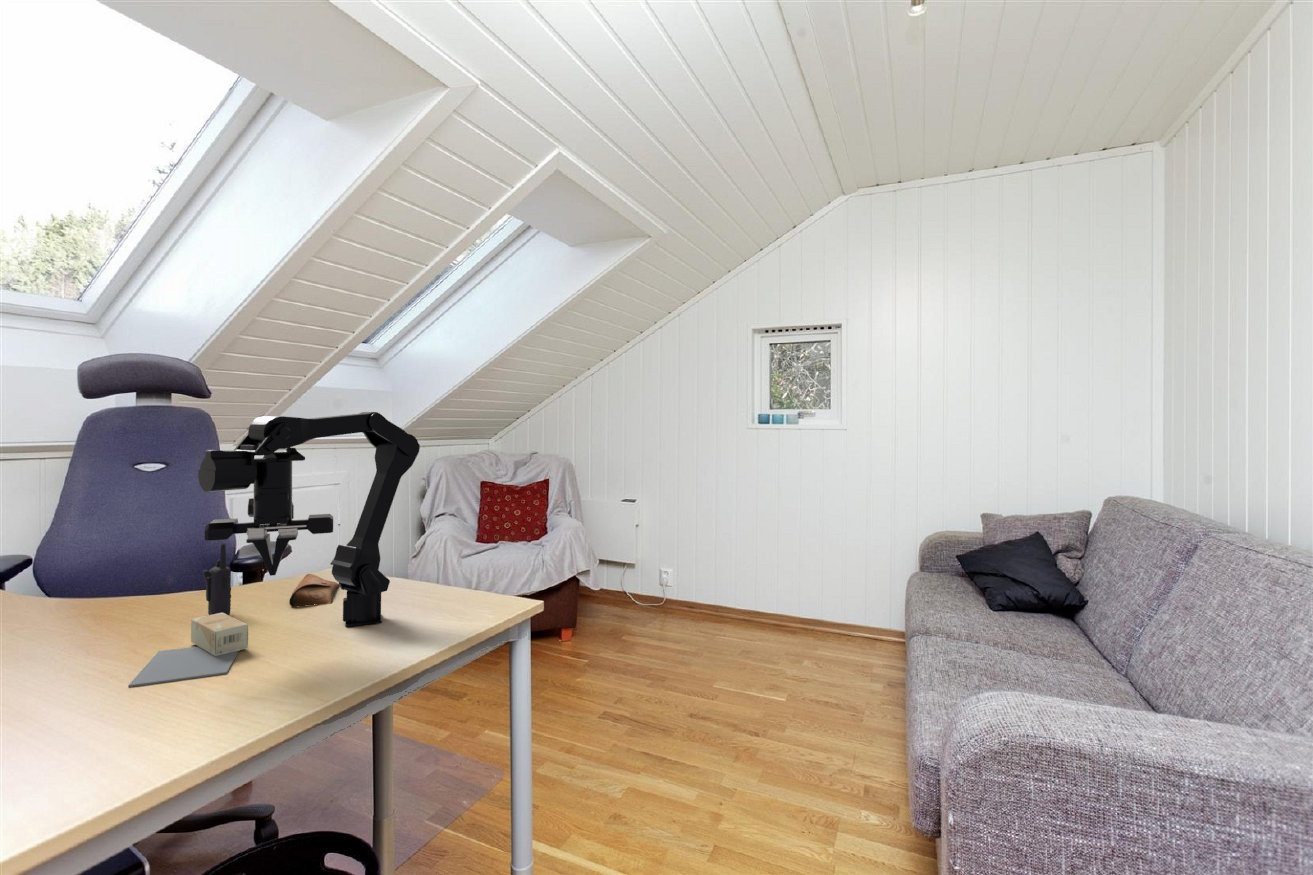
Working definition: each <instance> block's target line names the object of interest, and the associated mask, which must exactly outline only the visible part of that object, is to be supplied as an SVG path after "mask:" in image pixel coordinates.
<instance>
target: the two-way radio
mask: <svg viewBox="0 0 1313 875" xmlns="http://www.w3.org/2000/svg"><path fill="white" fill-rule="evenodd" d="M226 546H227V545H226V544H225V543H221V544H220V552H219V553H220V554H219V555H220V556H219V557H220V558H219V559H217V560H216V564H215V566H213V567H212V568H210V569H209V570H207V569H205V570H202V576H203V578H204V581H205V600H206V601H207V602H208V603H207V604H208V605H207V609H208V610H207V612H208V613H207V614H208V615H213V614H218V613H225V614H227V615H229V616H231V615H230V614H231V609H232V608H231V605H232V604H231V601H232V600H231V598H232V594H231V592H232V586H231V584H232V570H231V568H230V567H228V566H227V553H226V552H227V551H226V550H227V548H226ZM208 615H207V616H208Z"/></svg>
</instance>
